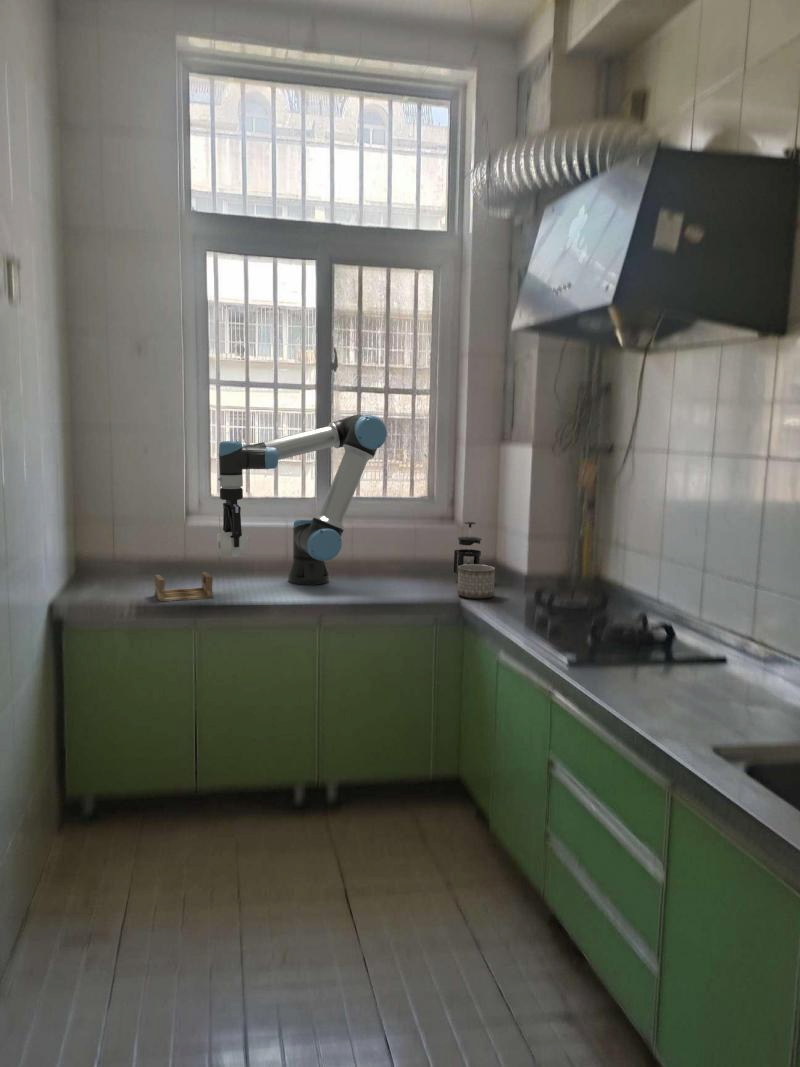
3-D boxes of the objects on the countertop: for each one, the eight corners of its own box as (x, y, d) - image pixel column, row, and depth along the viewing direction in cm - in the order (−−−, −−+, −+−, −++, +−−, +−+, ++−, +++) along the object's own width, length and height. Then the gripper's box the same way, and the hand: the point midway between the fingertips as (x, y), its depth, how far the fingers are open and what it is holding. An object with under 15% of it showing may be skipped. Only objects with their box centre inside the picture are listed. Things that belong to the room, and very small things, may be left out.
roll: (243, 552, 284) (242, 529, 283) (249, 556, 277) (248, 532, 276) (216, 554, 280) (216, 531, 279) (222, 558, 273) (221, 534, 272)
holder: (205, 591, 282) (205, 571, 281) (213, 598, 272) (213, 577, 271) (154, 595, 275) (154, 574, 274) (160, 602, 265) (160, 580, 264)
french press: (486, 583, 311) (489, 522, 308) (471, 586, 304) (473, 524, 301) (462, 578, 319) (464, 519, 316) (446, 581, 312) (449, 521, 309)
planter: (454, 592, 292) (455, 564, 291) (488, 592, 294) (490, 564, 292) (461, 600, 280) (462, 570, 278) (497, 600, 281) (498, 570, 280)
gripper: (212, 485, 283) (214, 550, 286) (227, 490, 265) (229, 560, 268) (234, 484, 286) (235, 549, 290) (250, 489, 268) (251, 558, 271)
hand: (232, 554), depth 279 cm, fingers closed on roll, 8 cm apart
